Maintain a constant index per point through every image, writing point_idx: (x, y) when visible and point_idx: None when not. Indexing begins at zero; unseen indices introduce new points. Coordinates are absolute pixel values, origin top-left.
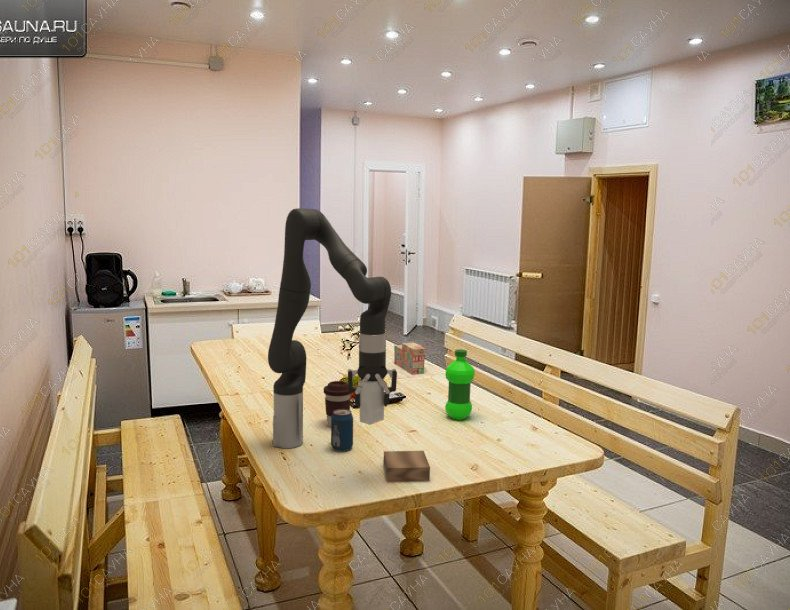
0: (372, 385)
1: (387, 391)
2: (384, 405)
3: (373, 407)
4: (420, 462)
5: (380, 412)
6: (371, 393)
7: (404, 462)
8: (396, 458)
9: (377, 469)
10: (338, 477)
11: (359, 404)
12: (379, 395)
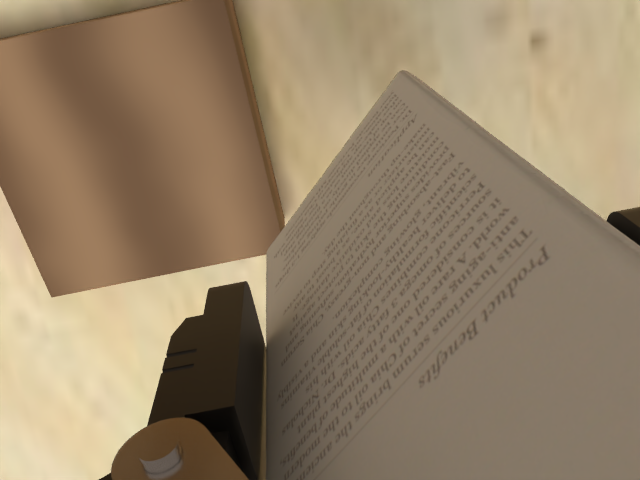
0: (633, 430)
1: (160, 454)
2: (246, 288)
3: (406, 177)
4: (24, 122)
5: (302, 247)
6: (544, 249)
7: (127, 106)
8: (190, 160)
9: (307, 150)
10: (515, 11)
11: (635, 221)
12: (339, 382)
